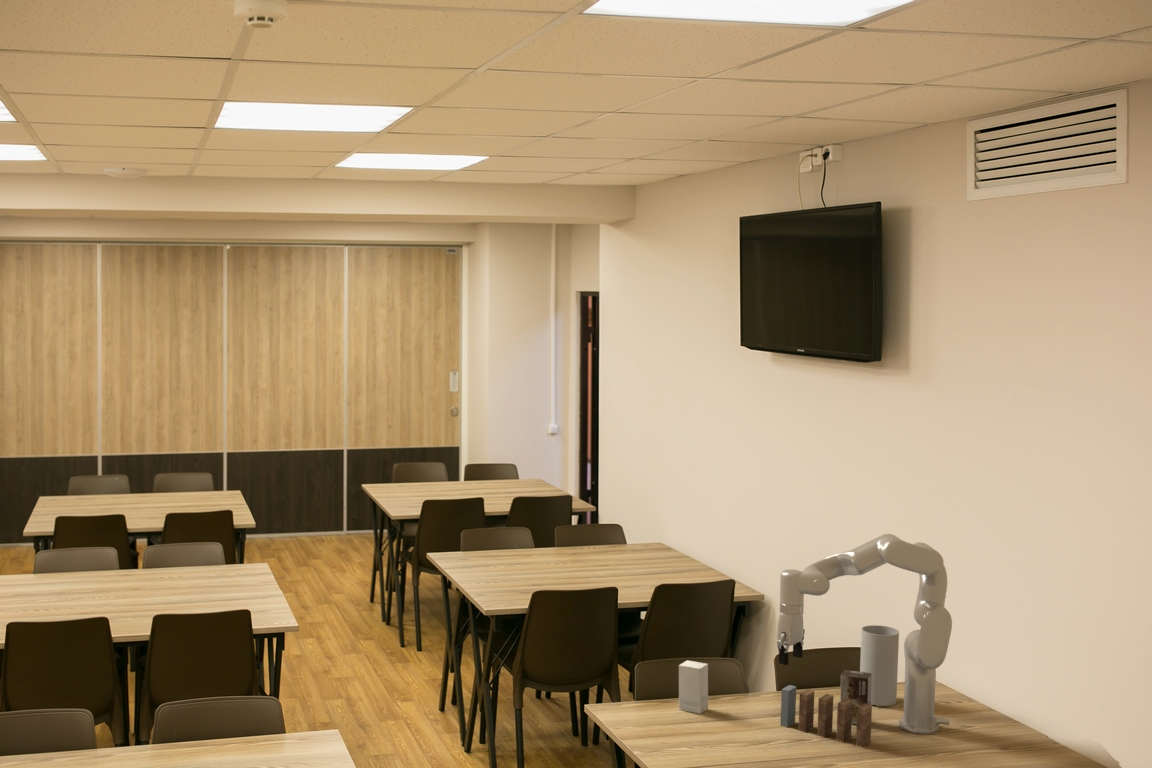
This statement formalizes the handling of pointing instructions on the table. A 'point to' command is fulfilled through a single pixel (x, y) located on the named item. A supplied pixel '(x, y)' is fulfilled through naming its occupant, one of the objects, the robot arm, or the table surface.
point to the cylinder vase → (880, 662)
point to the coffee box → (856, 689)
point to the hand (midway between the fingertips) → (790, 660)
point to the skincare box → (693, 687)
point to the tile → (788, 706)
